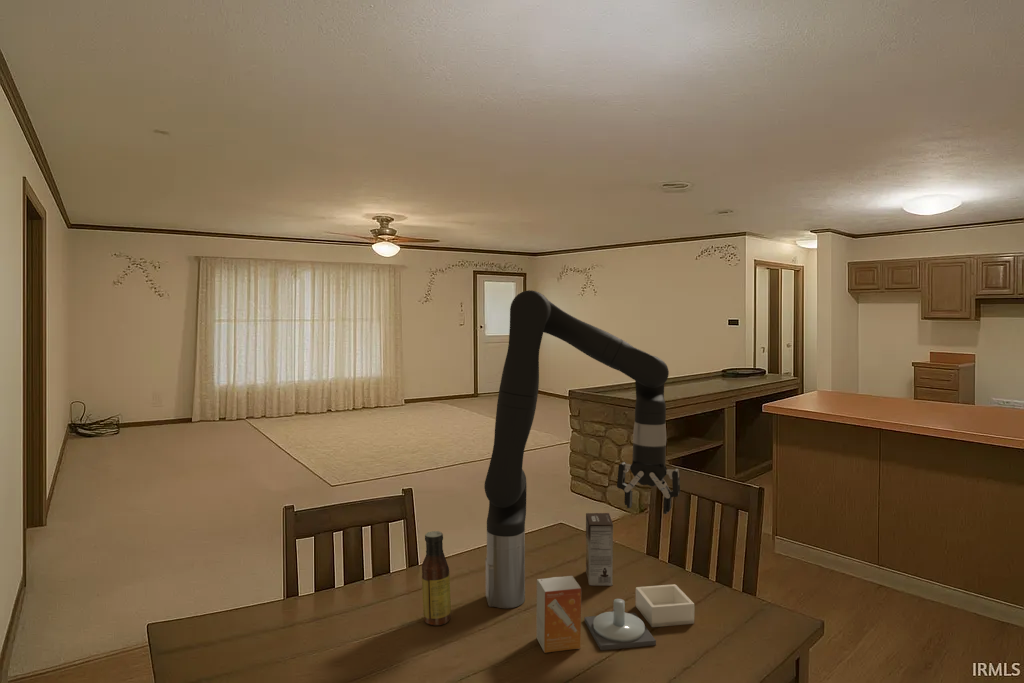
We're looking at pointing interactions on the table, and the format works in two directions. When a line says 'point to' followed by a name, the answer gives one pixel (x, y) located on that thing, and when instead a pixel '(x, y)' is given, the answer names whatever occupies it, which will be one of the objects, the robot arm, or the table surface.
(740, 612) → the table surface
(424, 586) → the sauce bottle
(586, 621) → the mat
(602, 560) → the coffee box
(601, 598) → the table surface
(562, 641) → the small box
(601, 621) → the lid
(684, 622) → the open square container
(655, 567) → the table surface
